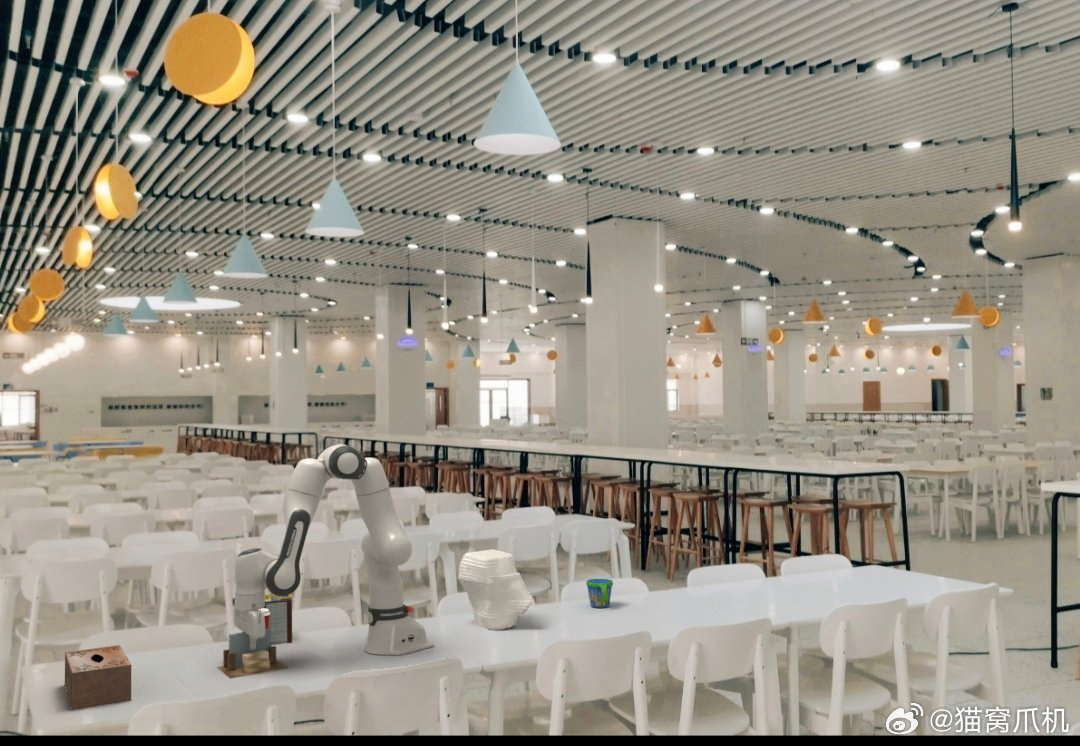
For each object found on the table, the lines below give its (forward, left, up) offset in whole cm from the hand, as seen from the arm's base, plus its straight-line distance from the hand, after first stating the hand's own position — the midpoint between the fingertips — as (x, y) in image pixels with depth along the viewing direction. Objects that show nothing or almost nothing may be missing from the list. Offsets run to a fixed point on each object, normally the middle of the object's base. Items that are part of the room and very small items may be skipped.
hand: (250, 647), depth 278 cm
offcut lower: (0, +7, -5) cm, 9 cm away
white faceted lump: (-88, -1, -6) cm, 88 cm away
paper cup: (-7, -15, -6) cm, 18 cm away
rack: (0, +4, -6) cm, 7 cm away
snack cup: (-139, -3, -6) cm, 139 cm away
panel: (0, 0, -5) cm, 5 cm away
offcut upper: (0, +7, -3) cm, 8 cm away
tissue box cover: (+43, 0, -7) cm, 43 cm away
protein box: (-17, -28, -6) cm, 33 cm away
